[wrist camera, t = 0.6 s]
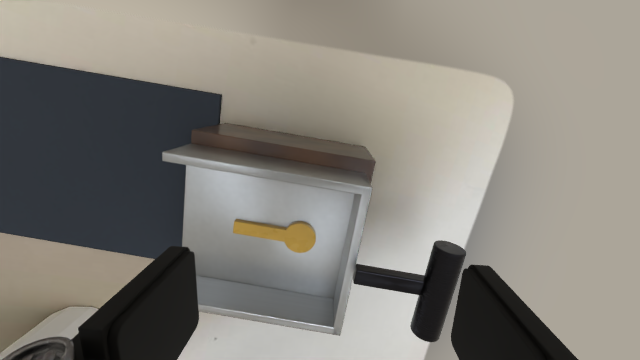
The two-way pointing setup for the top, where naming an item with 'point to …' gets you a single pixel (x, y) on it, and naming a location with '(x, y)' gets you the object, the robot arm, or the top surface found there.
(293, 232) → the spoon
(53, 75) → the mat
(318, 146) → the stand
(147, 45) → the top surface
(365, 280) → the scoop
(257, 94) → the top surface
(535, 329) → the robot arm
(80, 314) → the container
